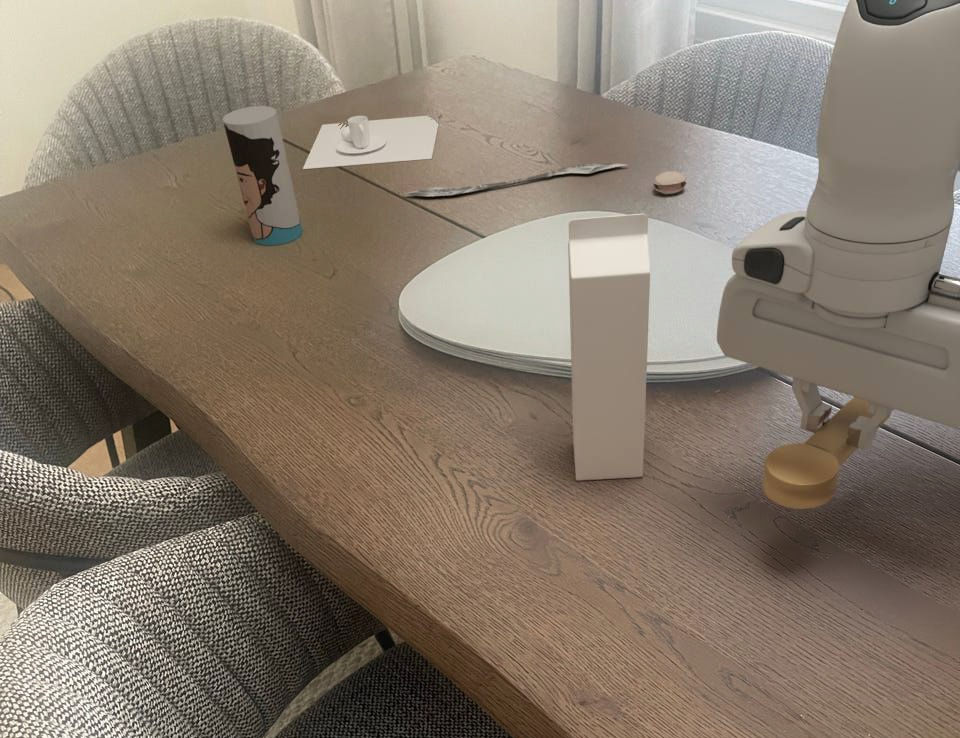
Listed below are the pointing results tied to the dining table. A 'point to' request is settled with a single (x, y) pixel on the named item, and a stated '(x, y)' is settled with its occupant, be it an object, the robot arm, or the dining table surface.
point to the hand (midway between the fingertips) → (836, 436)
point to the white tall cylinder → (263, 174)
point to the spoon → (813, 461)
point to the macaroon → (669, 182)
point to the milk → (609, 343)
